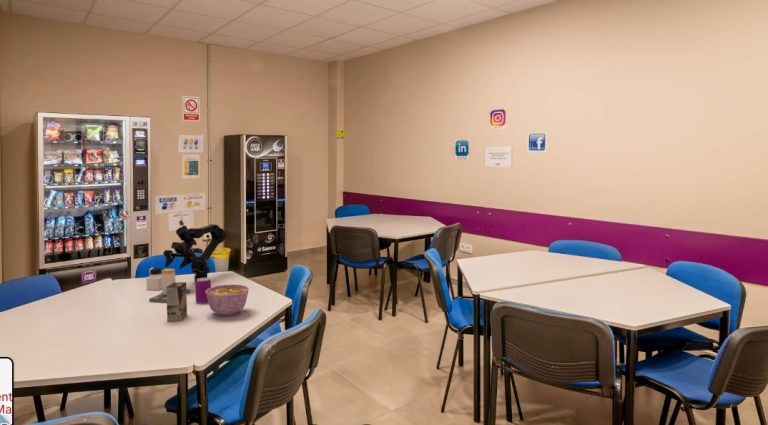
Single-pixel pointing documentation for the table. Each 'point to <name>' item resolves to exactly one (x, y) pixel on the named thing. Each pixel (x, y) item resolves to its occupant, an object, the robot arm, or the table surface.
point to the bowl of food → (227, 298)
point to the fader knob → (167, 278)
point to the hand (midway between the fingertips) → (172, 267)
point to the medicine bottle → (154, 279)
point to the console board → (162, 298)
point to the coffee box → (176, 301)
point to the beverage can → (202, 289)
